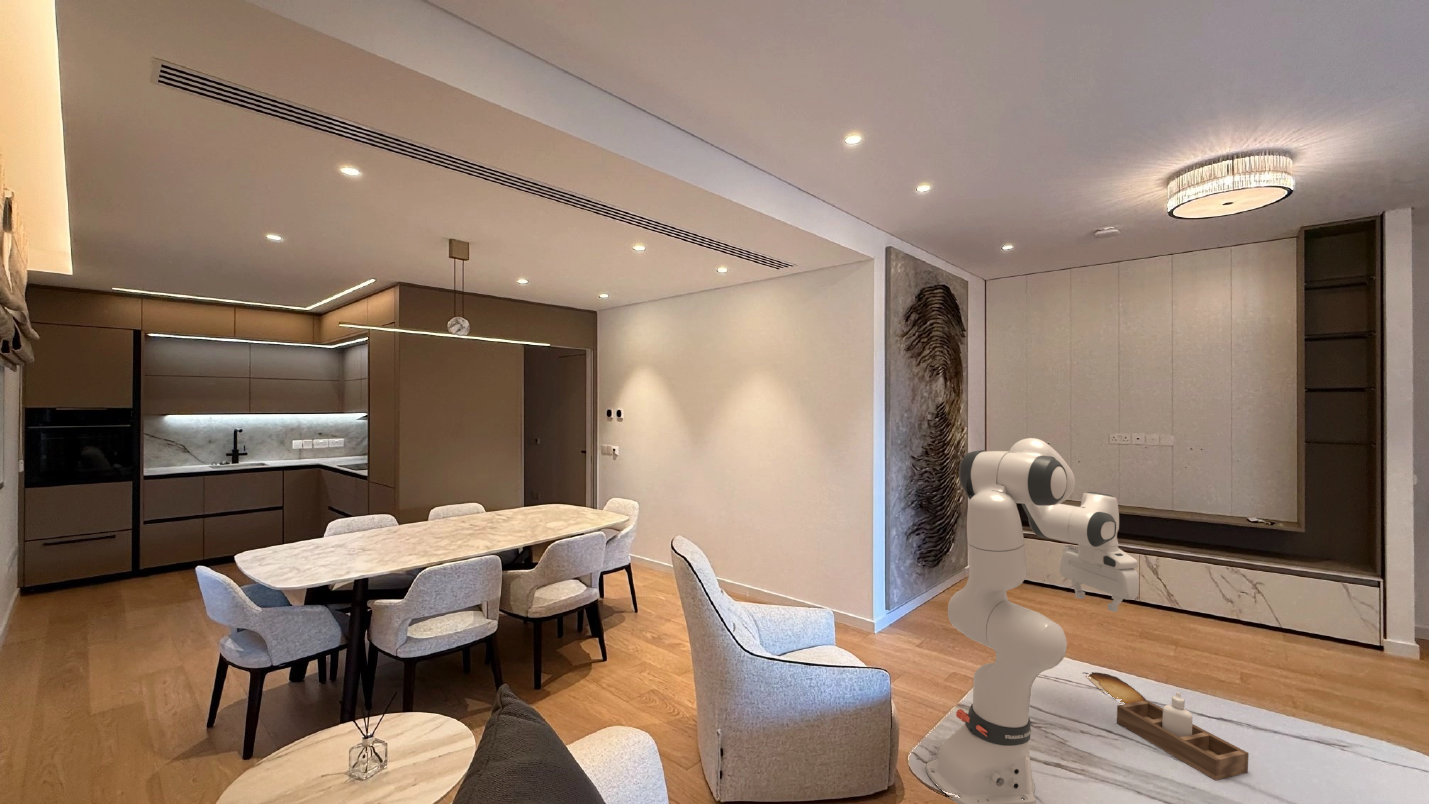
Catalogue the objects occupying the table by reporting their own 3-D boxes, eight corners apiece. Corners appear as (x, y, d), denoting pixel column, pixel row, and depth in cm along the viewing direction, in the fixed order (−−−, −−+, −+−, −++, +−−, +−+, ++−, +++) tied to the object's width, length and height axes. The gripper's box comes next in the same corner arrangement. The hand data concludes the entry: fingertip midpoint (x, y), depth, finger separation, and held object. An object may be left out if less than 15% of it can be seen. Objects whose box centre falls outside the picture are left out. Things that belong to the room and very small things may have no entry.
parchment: (1080, 672, 176) (1080, 669, 176) (1114, 674, 175) (1114, 671, 175) (1128, 719, 151) (1128, 716, 151) (1168, 722, 150) (1169, 718, 150)
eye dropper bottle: (1169, 733, 142) (1171, 685, 142) (1195, 746, 137) (1197, 697, 137) (1158, 736, 141) (1160, 688, 141) (1183, 750, 136) (1185, 700, 136)
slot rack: (1215, 780, 127) (1216, 760, 127) (1116, 722, 148) (1117, 705, 148) (1247, 772, 130) (1248, 753, 130) (1146, 717, 151) (1146, 700, 151)
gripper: (1054, 543, 162) (1053, 591, 162) (1125, 564, 142) (1123, 619, 142) (1072, 542, 163) (1070, 590, 164) (1144, 563, 144) (1142, 617, 144)
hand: (1095, 604), depth 153 cm, fingers open, 8 cm apart
